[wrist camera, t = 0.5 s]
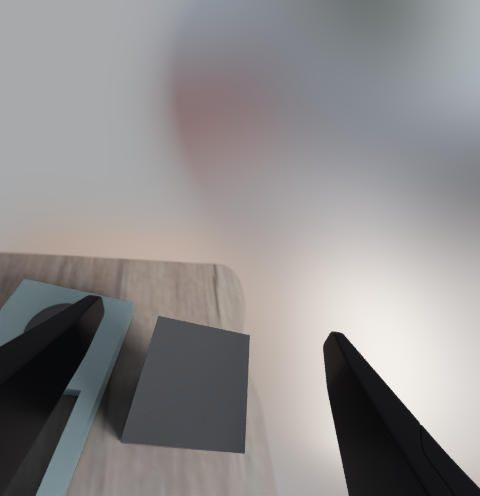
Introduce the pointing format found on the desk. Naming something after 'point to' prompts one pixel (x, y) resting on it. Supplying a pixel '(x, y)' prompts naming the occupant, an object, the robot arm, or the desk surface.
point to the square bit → (191, 389)
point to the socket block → (87, 375)
